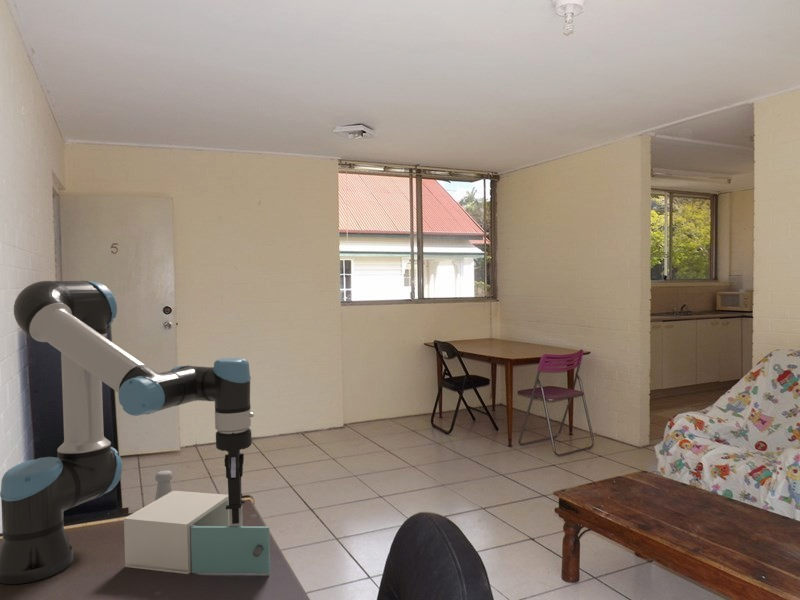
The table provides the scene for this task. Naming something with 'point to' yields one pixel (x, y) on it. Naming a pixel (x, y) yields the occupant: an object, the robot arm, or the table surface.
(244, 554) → the side door
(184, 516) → the storage box
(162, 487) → the salt shaker
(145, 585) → the table surface
